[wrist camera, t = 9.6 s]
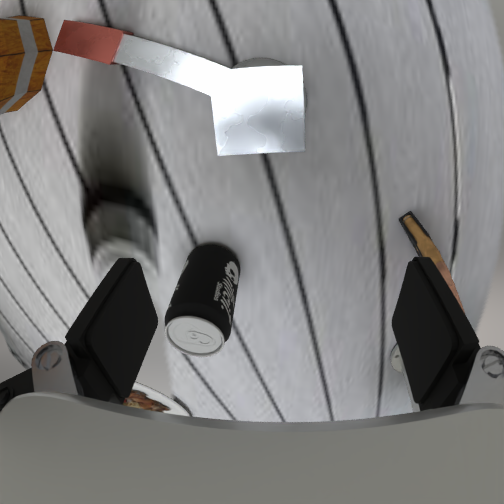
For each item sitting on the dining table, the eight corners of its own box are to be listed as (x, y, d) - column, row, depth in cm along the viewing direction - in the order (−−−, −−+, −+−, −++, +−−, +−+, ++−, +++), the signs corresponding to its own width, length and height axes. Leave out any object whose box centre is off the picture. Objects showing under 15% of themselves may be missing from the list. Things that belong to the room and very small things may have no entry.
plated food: (182, 437, 73) (180, 447, 70) (83, 402, 68) (80, 412, 66) (206, 397, 57) (203, 411, 54) (71, 348, 52) (64, 360, 49)
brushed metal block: (294, 67, 22) (302, 65, 16) (297, 132, 26) (305, 151, 20) (224, 72, 23) (208, 71, 17) (230, 135, 26) (217, 155, 20)
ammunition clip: (398, 218, 32) (440, 284, 22) (410, 210, 31) (457, 273, 21) (428, 274, 36) (463, 340, 26) (439, 267, 35) (476, 331, 26)
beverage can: (197, 233, 35) (168, 304, 25) (249, 254, 36) (239, 330, 26) (182, 273, 38) (154, 345, 28) (229, 291, 40) (215, 366, 30)
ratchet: (318, 83, 25) (330, 85, 20) (280, 151, 29) (282, 169, 24) (83, 3, 20) (51, -2, 15) (60, 67, 24) (26, 73, 19)
